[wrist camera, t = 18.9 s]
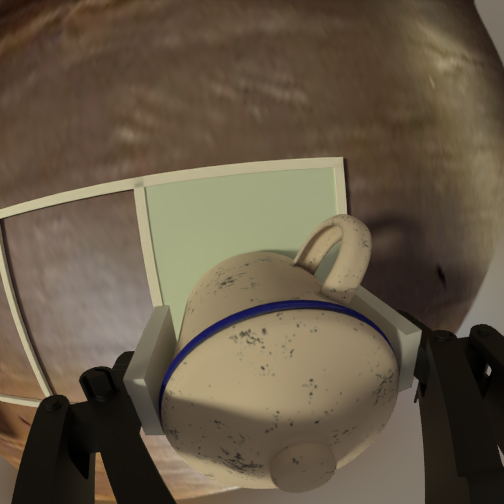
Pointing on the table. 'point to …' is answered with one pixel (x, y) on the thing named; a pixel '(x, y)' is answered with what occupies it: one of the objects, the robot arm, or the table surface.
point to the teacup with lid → (280, 367)
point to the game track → (208, 225)
